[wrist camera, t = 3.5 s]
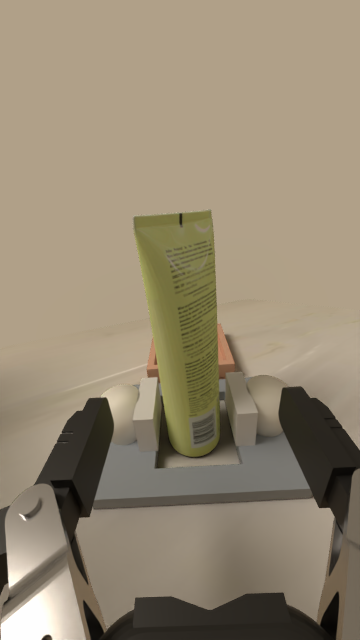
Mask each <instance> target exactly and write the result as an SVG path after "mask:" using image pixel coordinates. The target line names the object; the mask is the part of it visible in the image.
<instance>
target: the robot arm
mask: <svg viewBox="0 0 360 640" xmlns="http://www.w3.org/2000/svg"><path fill="white" fill-rule="evenodd" d="M278 415H279V421H280V425H281V427H282V429H283V431H284V434H285V436H286V438H287V440H288V442H289V444H290V446H291V449H292V451H293V453H294V455H295V457H296V459H297V462H298V464H299V466H300V468H301V470H302V472H303V475H304V477H305V479H306V481H307V483H308V485H309V487H310V490H311V492H312V494H313V496H314V498H315V500H316V503H317V505H318V507H319V508H331V510H332V512H333V514H334V516H335V518H334V521H333V528H332V536H331V543H330V550H329V557H328V564H327V571H326V577H325V583H324V587H323V590H322V594H321V599H320V603H319V609H318V615H317V622H315V621H314V620H313V619H312V618H310V617H309V616H307V615H306V614H304V613H303V612H301V611H299V610H297V609H296V608H294V607H292V606H289V605H287V604H286V600H285V597H284V593H257V594H245V595H243V596H241V597H239V598H237V599H234V600H232V601H230V602H228V603H226V604H224V605H222V606H219V607H217V608H215V609H213V610H207V609H204V608H201V607H198V606H196V605H193V604H190V603H187V602H185V601H182V600H179V599H177V598H174V597H143V598H135V607H134V610H132V611H130V612H128V613H127V614H125V615H124V616H122V617H121V618H119V619H118V620H117V621H116V622H115V623H114V624H113V625H111V626H110V627H109V629H108V630H106V626H105V623H104V620H103V616H102V613H101V610H100V607H99V605H98V602H97V599H96V597H95V594H94V592H93V589H92V586H91V583H90V579H89V576H88V572H87V569H86V565H85V562H84V558H83V555H82V552H81V548H80V545H79V541H78V538H77V534H76V531H75V529H76V526H77V523H78V520H79V518H81V517H90V513H91V510H92V506H93V503H94V499H95V496H96V492H97V489H98V485H99V482H100V478H101V475H102V471H103V468H104V464H105V461H106V457H107V454H108V450H109V447H110V443H111V440H112V436H113V432H114V420H113V416H112V413H111V409H110V406H109V402H108V399H107V398H106V397H102V398H89V399H88V401H87V403H86V405H85V407H84V409H83V411H76V413H75V414H74V415H73V416H72V417H71V418H70V419H69V420H68V421H67V423H66V425H65V427H64V429H63V431H62V434H60V436H59V438H58V440H57V444H55V446H54V448H53V450H52V452H51V454H50V456H49V458H48V460H47V462H46V463H45V465H44V467H43V469H42V471H41V473H40V475H39V477H38V479H37V481H36V483H35V484H34V486H32V487H30V488H28V489H26V490H25V491H24V492H22V493H21V494H20V495H19V496H18V497H17V498H16V499H15V500H14V502H13V503H12V504H11V505H10V506H8V507H5V508H3V509H0V594H1V592H2V590H3V587H4V585H5V584H7V583H9V597H8V600H7V601H6V602H5V603H4V604H3V607H2V613H1V633H2V640H360V450H359V449H358V447H357V446H356V445H355V443H354V442H353V441H352V439H351V438H350V437H349V435H348V434H347V433H346V431H345V430H344V429H343V428H342V426H341V424H340V423H339V422H338V420H336V419H335V416H334V415H333V414H332V412H331V411H330V410H329V408H328V407H327V406H326V405H324V404H323V403H322V402H321V401H319V400H318V399H317V398H310V397H309V396H308V394H307V393H306V392H305V390H304V389H303V388H302V387H300V386H299V387H284V388H282V392H281V398H280V405H279V411H278Z"/></svg>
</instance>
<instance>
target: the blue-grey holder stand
mask: <svg viewBox="0 0 360 640" xmlns="http://www.w3.org/2000/svg"><path fill="white" fill-rule="evenodd" d="M284 387H288V386H287V385H286V383H284V382H283V381H282V380H280V379H278V378H276V377H272V376H268V375H259V376H255V377H249V378H244V375H243V372H228V373H226V378H225V379H219V400H225V404H226V408H227V412H228V417H229V421H230V425H231V429H232V433H233V437H234V441H235V446H236V450H237V454H238V458H239V462H240V464H231V465H213V466H195V467H177V468H159V469H157V461H158V449H159V436H160V424H161V411H162V403H163V396H162V389H161V383H158V377H151V378H141V382H140V385H130V384H121V385H116V386H114V387H111V388H110V389H108V390H106V391H105V392H104V393H103V394H102V395H101V397H100V398H102V397H106V398H107V399H108V402H109V406H110V409H111V413H112V416H113V420H114V432H113V436H112V440H111V443H110V447H109V450H108V454H107V457H106V461H105V464H104V468H103V471H102V475H101V478H100V482H99V485H98V489H97V492H96V496H95V499H94V503H93V508H94V509H106V508H125V507H145V506H164V505H184V504H204V503H223V502H243V501H262V500H282V499H301V498H311V496H312V492H311V490H310V487H309V485H308V483H307V481H306V479H305V477H304V475H303V472H302V470H301V468H300V466H299V464H298V462H297V459H296V457H295V455H294V453H293V451H292V449H291V446H290V444H289V442H288V440H287V438H286V436H285V434H284V431H283V429H282V427H281V425H280V421H279V415H278V411H279V405H280V398H281V392H282V388H284Z"/></svg>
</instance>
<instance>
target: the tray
mask: <svg viewBox="0 0 360 640" xmlns="http://www.w3.org/2000/svg"><path fill="white" fill-rule="evenodd" d="M217 332H218V364H219V379H225V378H226V373H228V372H235V363H234V360H233V357H232V354H231V352H230V349H229V346H228V343H227V341H226V338H225V335H224V332H223V330H222V327H221V324H217ZM147 374H148V378H151V377H158V383H160V377H159V370H158V364H157V358H156V351H155V345H154V339H152V344H151V350H150V355H149V360H148V365H147Z"/></svg>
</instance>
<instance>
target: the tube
mask: <svg viewBox="0 0 360 640" xmlns="http://www.w3.org/2000/svg"><path fill="white" fill-rule="evenodd" d="M133 230H134V235H135V240H136V245H137V250H138V254H139V260H140V266H141V271H142V276H143V281H144V287H145V292H146V298H147V303H148V309H149V315H150V321H151V327H152V333H153V339H154V345H155V351H156V358H157V364H158V370H159V377H160V383H161V389H162V396H163V403H164V409H165V416H166V423H167V430H168V436H169V440H170V443H171V445H172V446H173V448H174V449H175V450H176V451H178V452H179V453H181V454H183V455H185V456H190V457H197V456H203V455H205V454H207V453H209V452H210V451H212V450H213V449H214V448H215V447H216V445H217V443H218V441H219V438H220V402H219V364H218V332H217V303H216V276H215V251H214V234H213V223H212V217H211V210H203V211H193V212H182V213H167V214H154V215H136V216H133Z"/></svg>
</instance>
